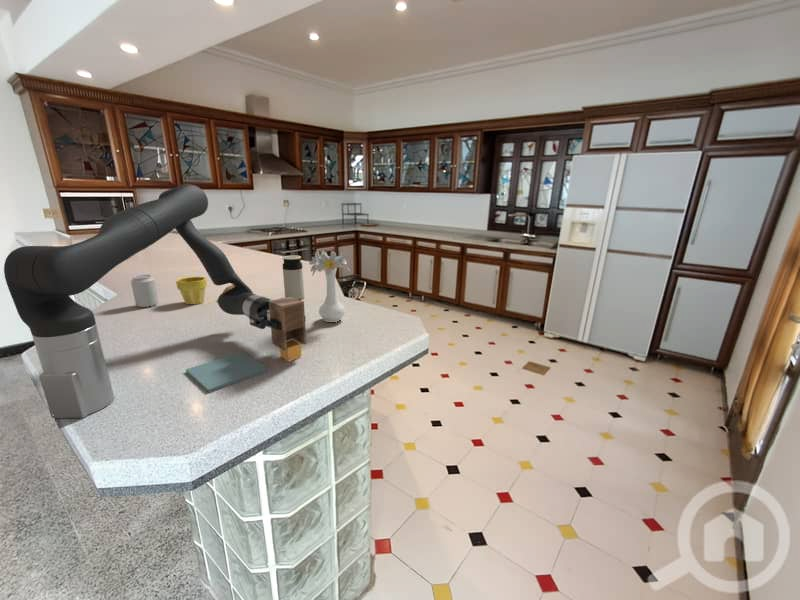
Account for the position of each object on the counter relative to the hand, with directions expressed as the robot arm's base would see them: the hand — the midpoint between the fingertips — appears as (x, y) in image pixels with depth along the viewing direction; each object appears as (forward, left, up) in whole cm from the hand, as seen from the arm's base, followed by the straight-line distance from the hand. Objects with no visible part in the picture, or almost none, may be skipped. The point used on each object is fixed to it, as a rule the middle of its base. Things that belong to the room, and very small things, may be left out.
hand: (292, 323), depth 92 cm
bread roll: (+60, +38, -11) cm, 71 cm away
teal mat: (-6, +16, -11) cm, 20 cm away
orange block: (+2, +2, -11) cm, 11 cm away
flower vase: (+32, -5, -11) cm, 34 cm away
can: (+50, +69, -11) cm, 86 cm away
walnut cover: (+2, +2, -7) cm, 7 cm away
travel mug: (+60, +14, -11) cm, 62 cm away
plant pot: (+54, +53, -11) cm, 76 cm away
